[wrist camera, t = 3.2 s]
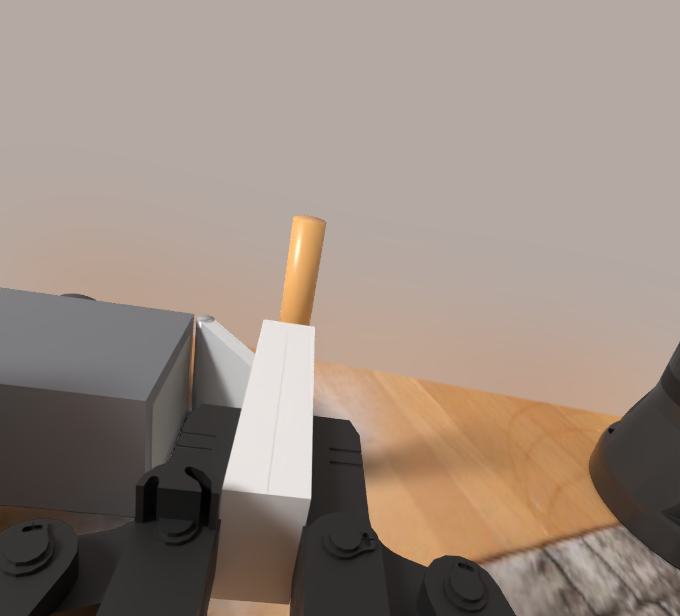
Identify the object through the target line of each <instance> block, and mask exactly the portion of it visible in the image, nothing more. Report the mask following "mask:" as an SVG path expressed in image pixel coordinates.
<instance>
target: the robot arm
mask: <svg viewBox="0 0 680 616" xmlns="http://www.w3.org/2000/svg"><path fill="white" fill-rule="evenodd" d="M314 335H315V327H313V326H306V325H299V324H292V323H285V322H278V321H271V320H265V319H264V321H263V325H262V329H261V333H260V337H259V341H258V345H257V349H256V353H255V357H254V361H253V365H252V369H251V373H250V378H249V382H248V386H247V390H246V394H245V398H244V402H243V406H242V408H234V407H226V406H218V405H210V404H201V405H200V406H199V407H198V408H197V409H196V410H194V411H193V412H192V413H191V414H190V415H189V416H188V417H187V420H186V422H185V425H184V427H183V430H182V433H181V435H180V437H179V439H178V442H177V444H176V448H175V449H174V452H173V454H172V457H171V459H170V462H168V463H165V464H161V465H158V466H156V467H154V468H153V469H151V470H150V471H148V472H147V473H145V474H144V475H143V476H142V478H141V479H140V480H139V482H138V483H137V484H136V504H135V520H134V521H132V522H130V523H128V524H126V525H124V526H122V527H119V528H116V529H112V530H108V531H104V532H98V533H92V534H86V535H80V536H77V535H76V533H75V531H74V530H73V528H72V527H71V526H70V525H68V524H66V523H64V522H63V521H61V520H56V519H48V518H40V519H34V520H28V521H24V522H21V523H19V524H16V525H14V526H11V527H9V528H7V529H5V530H4V531H2V532H1V533H0V616H207V610H208V605H209V601H210V598H216V599H228V600H240V601H253V602H265V603H277V604H289V602H290V598H291V602H290V616H516V615H515V613H514V611H513V610H512V608H511V606H510V605H509V603H508V601H507V600H506V598H505V596H504V595H503V593H502V591H501V589H500V588H499V586H498V585H497V583H496V582H495V581H494V580H493V578H492V577H491V576H490V575H489V573H488V572H487V571H486V570H484V569H483V568H481V567H480V566H479V565H477V564H476V563H475V562H473V561H470V560H468V559H465V558H463V557H460V556H448V555H445V556H443V557H440V558H437V559H434V560H433V562H432V563H431V564H430V565H429V566H428V567H426V566H423V565H421V564H418V563H416V562H413V561H411V560H408V559H406V558H403V557H401V556H400V555H398V554H396V553H394V552H392V551H391V550H390V549H388V548H387V547H386V546H384V545H383V544H382V542H381V541H380V540H379V539H378V536H377V534H376V532H375V531H374V530H373V529H372V528H371V524H370V520H369V514H368V505H367V496H366V488H365V479H364V470H363V462H362V455H361V444H360V436H359V434H358V432H357V431H356V429H355V428H354V426H353V425H352V423H351V422H350V420H342V419H334V418H326V417H318V416H313V386H314V338H315V337H314ZM589 471H590V475H591V479H592V481H593V484H594V486H595V488H596V490H597V492H598V493H599V495H600V497H601V498H602V500H603V501H604V502H605V504H606V505H607V507H608V508H609V509H610V510H611V512H612V513H613V514H614V515H615V516H616V517H617V518H618V519H619V521H620V522H621V523H622V524H623V525H624V526H625V527H626V528H627V529H628V530H630V531H631V532H632V533H633V534H634V535H635V536H636V537H637V538H638V539H639V540H641V541H642V542H643V543H644V544H645V545H647V546H648V547H649V548H650V549H652V550H653V551H654V552H656V553H657V554H658V555H660V556H661V557H663V558H664V559H665V560H667V561H668V562H670V563H671V564H673V565H674V566H676V567H677V568H679V569H680V343H679V344H678V346H677V348H676V350H675V352H674V353H673V355H672V357H671V359H670V361H669V363H668V365H667V367H666V369H665V371H664V373H663V375H662V376H661V378H660V380H659V382H658V383H657V385H656V386H655V387H654V388H653V389H652V390H651V391H650V392H649V393H648V394H646V395H645V396H644V397H643V398H642V399H641V400H640V401H638V402H637V403H636V404H635V405H634V406H633V407H632V408H631V409H630V410H629V411H628V412H627V413H626V414H625V415H624V416H623V417H622V419H621V420H620V421H618V422H615V423H613V424H612V425H610V426H609V427H608V428H607V429H606V430H605V431H604V432H603V434H602V435H601V436H600V438H599V440H598V442H597V444H596V446H595V449H594V451H593V453H592V455H591V457H590V460H589Z"/></svg>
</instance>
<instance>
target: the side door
mask: <svg viewBox="0 0 680 616" xmlns="http://www.w3.org/2000/svg"><path fill="white" fill-rule="evenodd" d="M325 228H326V222H325V221H324V220H322V219H319V218H316V217H312V216H302V215H300V216H295V217H294V218H293V225H292V232H291V240H290V247H289V254H288V262H287V269H286V277H285V284H284V291H283V299H282V307H281V314H280V321H279V322H285V323H292V324H299V325H306V326H309V325H310V319H311V313H312V307H313V300H314V294H315V288H316V282H317V276H318V269H319V264H320V258H321V252H322V245H323V240H324V234H325ZM254 357H255V354H254V353H253V352H252V351H251V350H250V349H248V348H247V347H246V346H245V345H244V344H242V343H241V342H240V341H239V340H238V339H236V338H235V337H234V336H233V335H232V334H231V333H230V332H228V331H227V330H226V329H225V328H223V327H222V326H221V325H220V324H219V323H218V322H217V321H215V319H214V318H213V317H212V316H209V315H201V316H198V317H197V321H196V337H195V355H194V372H193V389H192V410H196V409H197V408H198V407H199V406H200V405H201V404H210V405H218V406H226V407H234V408H242V406H243V402H244V398H245V394H246V390H247V386H248V382H249V378H250V373H251V369H252V365H253V361H254Z"/></svg>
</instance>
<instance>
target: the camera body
mask: <svg viewBox="0 0 680 616" xmlns="http://www.w3.org/2000/svg"><path fill="white" fill-rule="evenodd" d="M193 323H194V314H189V313H182V312H175V311H167V310H160V309H153V308H145V307H138V306H131V305H124V304H116V303H109V302H101V301H96V300H95V299H93V298H90V297H88V296H84V295H79V294H64V295H60V296H58V295H51V294H44V293H36V292H28V291H22V290H14V289H7V288H0V505H9V506H19V507H30V508H41V509H52V510H63V511H73V512H84V513H95V514H106V515H117V516H128V517H135V504H136V484H137V483H138V482H139V480H140V479H141V478H142V476H143V475H144V474H145V473H147V472H148V471H150V470H151V469H153V468H154V467H156V466H158V465H161V464H165V463H167V462H168V459H169V457H170V454H171V452H172V449H173V447H174V445H175V442H176V440H177V437H178V435H179V432H180V430H181V427H182V425H183V423H184V420H185V418H186V415H187V413H188V410H189V396H190V378H191V360H192V341H193Z"/></svg>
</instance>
